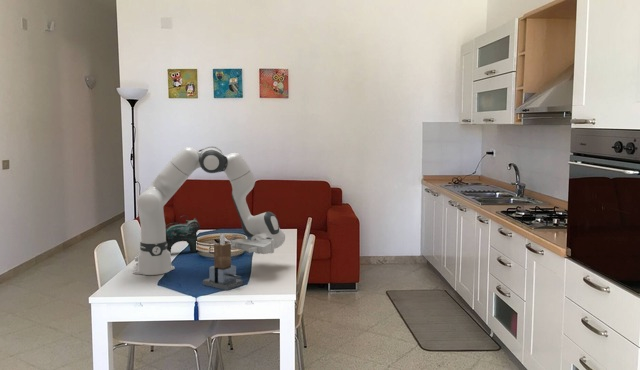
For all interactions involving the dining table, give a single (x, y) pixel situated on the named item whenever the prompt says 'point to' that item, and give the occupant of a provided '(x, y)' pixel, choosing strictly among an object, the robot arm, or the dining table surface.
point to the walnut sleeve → (222, 255)
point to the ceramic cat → (183, 234)
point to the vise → (223, 275)
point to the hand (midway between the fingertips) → (239, 249)
